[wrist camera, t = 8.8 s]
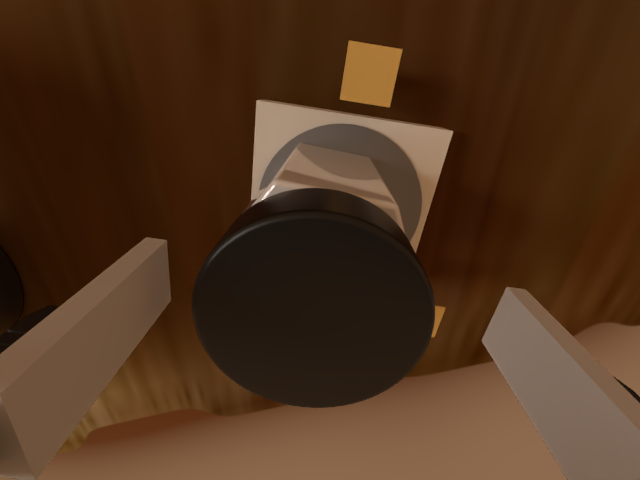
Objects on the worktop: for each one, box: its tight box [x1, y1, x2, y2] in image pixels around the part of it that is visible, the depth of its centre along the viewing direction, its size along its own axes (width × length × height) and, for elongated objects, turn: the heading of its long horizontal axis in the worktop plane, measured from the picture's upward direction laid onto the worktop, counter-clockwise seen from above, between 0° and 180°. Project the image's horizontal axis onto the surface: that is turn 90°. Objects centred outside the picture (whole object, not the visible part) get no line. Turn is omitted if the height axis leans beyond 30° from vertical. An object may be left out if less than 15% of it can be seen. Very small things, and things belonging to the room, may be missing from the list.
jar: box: [192, 143, 435, 408], centre depth 16 cm, size 9×8×12 cm
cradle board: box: [251, 41, 453, 337], centre depth 20 cm, size 15×16×7 cm
